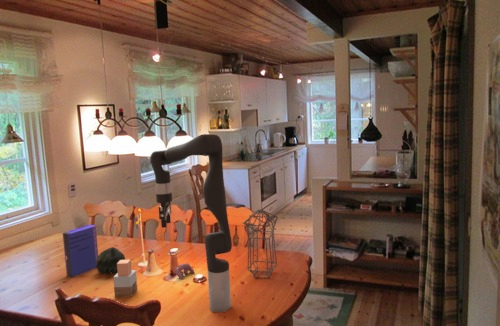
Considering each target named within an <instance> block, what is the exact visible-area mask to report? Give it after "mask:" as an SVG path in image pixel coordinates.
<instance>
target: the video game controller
mask: <svg viewBox="0 0 500 326" xmlns="http://www.w3.org/2000/svg"><path fill="white" fill-rule="evenodd" d="M177 266H178V267H177ZM177 266H176V267H177V268H176V267H175V268H176V269H175V268H174V273H175V274H176V276H177V277H178V278H179V279H180V278H181V280H182V279H183V278H184V275H187V274H188V273H190V274H191V273H192V274H195V271H194V268H193V267H192V266H191V265H190V264H189V263H188V262H185V263H180V264H179V265H177Z"/></svg>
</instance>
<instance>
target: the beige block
mask: <svg viewBox="0 0 500 326" xmlns="http://www.w3.org/2000/svg"><path fill="white" fill-rule="evenodd" d="M132 270H133V269H132V259H125V260H120V261H119V262H118V263H117V271H118V272H117V273H118V276H129V274H130V273H131V272H132Z"/></svg>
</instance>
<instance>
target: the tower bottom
mask: <svg viewBox="0 0 500 326" xmlns="http://www.w3.org/2000/svg"><path fill="white" fill-rule="evenodd" d="M137 280H138V279H137ZM137 280H136V282H135V283H134V284H133V285H132V286H131V287H114V286H113V289H114V290H113V292H114V298H132V297H133V296H134V295H135V294H136V292H137V291H138V281H137Z"/></svg>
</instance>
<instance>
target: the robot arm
mask: <svg viewBox="0 0 500 326" xmlns="http://www.w3.org/2000/svg"><path fill="white" fill-rule="evenodd" d="M191 156H204V157H208V171H207V173H206V176H205V178H204V181H203V186H202V188H203V189H202V190H203V200H204V204H205V206H206V207H207V209H208V210H209V212H211V214H212V215H213V216H214V218H215V219H216V221H217V223H218V224H219V229H220V231H216V232H210V233H206V234H205V237H204V238H205V239H204V247H205V254H206V264H207V281H208V301H209V309H210V310H211V313H226V312H227V311H228V310H230V309H231V307H232V301H231V300H232V299H231V298H232V297H231V296H232V295H231V282H230V281H231V280H230V279H231V278H230V263H229V261H228V260H226V259H223V258H218V257H216V256H218V255H221V254H222V255H223V254H226V253H230V252H231V251H232V246H233V245H232V241H233V240H232V235H231V229H230V225H229V224H230V223H229V219H228V211H227V210H228V209H227V200H226V199H227V198H226V197H227V196H226V188H225V182H224V180H225V179H224V169H223V142H222V139H221V138H220V136H219V135H218V134H212V133H211V134H207V133H203V134H200V135H198V136H195V137H194V138H192V139H191V140H189V141H187V142H185V143H181V144H178V145H175V146H171V147H168V148H167V149H165V150H157V151H156V150H155V151H153V152H152V153H151V154H150V158H149V161H150V165H151V167H152V168H151V169H152V170H153V173H154V178H155V198H156V200H155V201H156V203H158V204H160V206H158V214H159V215H158V217H159V220H160V223H161V228H163V229H164V228H167V224H171V215H172V204H171V202H173V191H172V190H173V189H172V182H171V172H170V171H169V170H167V169H164V168H163V166H166V165H167V166H168V165H171V164H173V163H177V162H180V161H184V160H186V159H188V157H191Z"/></svg>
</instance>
